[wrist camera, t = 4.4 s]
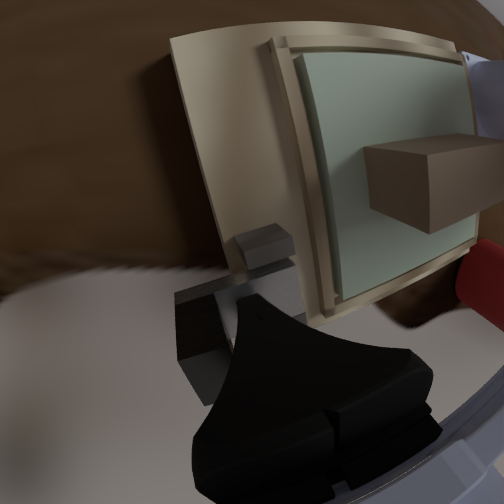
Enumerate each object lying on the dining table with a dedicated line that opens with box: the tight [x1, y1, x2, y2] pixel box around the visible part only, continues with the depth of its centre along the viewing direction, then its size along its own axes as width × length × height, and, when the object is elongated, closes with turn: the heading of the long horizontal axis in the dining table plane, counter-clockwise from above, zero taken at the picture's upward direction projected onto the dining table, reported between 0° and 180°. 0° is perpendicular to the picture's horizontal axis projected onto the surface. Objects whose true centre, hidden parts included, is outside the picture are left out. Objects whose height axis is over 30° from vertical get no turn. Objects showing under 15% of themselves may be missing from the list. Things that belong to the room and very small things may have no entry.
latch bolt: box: [174, 257, 304, 406], centre depth 11 cm, size 5×2×4 cm, turn 103°
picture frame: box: [170, 21, 479, 329], centre depth 13 cm, size 18×16×4 cm
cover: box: [294, 52, 504, 300], centre depth 11 cm, size 12×12×5 cm
